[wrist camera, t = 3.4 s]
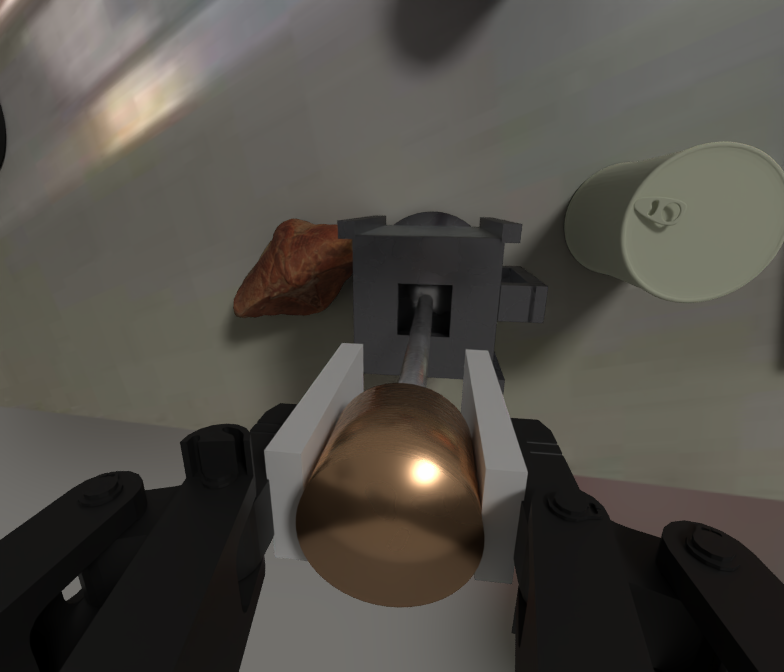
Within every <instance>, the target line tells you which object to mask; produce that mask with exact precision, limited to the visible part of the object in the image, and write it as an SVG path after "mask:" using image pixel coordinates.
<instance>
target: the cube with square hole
mask: <svg viewBox="0 0 784 672" xmlns="http://www.w3.org/2000/svg"><path fill="white" fill-rule="evenodd" d="M337 224H338V239H352V249H353V307H354V344H363V373H367V374H384V375H400V372H401V368H402V364H403V360H404V356H405V352H406V348H407V344H408V340H409V335H410V332H407V331H398V325H399V283H401V284H430V285H452V297H451V313H450V330H449V333H431V336H430V348H429V360H428V373H427V377H434V378H450V379H463V377H464V364H465V351H466V349H468V350H487V351H488V352H489V355H490V358H491V361H492V364H493V367H494V370H495V373H496V376H497V379H498V382H499V385H500V389H501V392H502V395H503V392H504V383H505V379H504V376H503V374H502V371H501V368H500V366H499V363H498V360H497V357H496V355H495V352H494V344H495V334H496V324H497V320H498V321H510V322H533V323H543V320H544V313H545V306H546V298H547V291H548V286H547V285H545V284H544V283H543V282H541V281H540V280H539V279H537V278H536V277H535V276H533V275H532V274H531V273H529V272H528V271H527V270H525V269H524V268H523V267H521V266H502V264H503V254H504V244H505V243H520V240H521V231H522V224H519V223H515V222H510V221H506V220H501V219H496V218H491V217H480V226H479V227H471V226H470V225H469V224H467V223H466V222H465V221H463V220H461V219H459V218H458V217H455V216H453V215H450V214H446V213H442V212H422V213H417V214H414V215H411V216H408V217H406V218H404V219H402V220H400V221H399V222H397V223H396V224H394V225H386V216H368V217H361V218H353V219H346V220H339V221H337Z"/></svg>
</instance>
